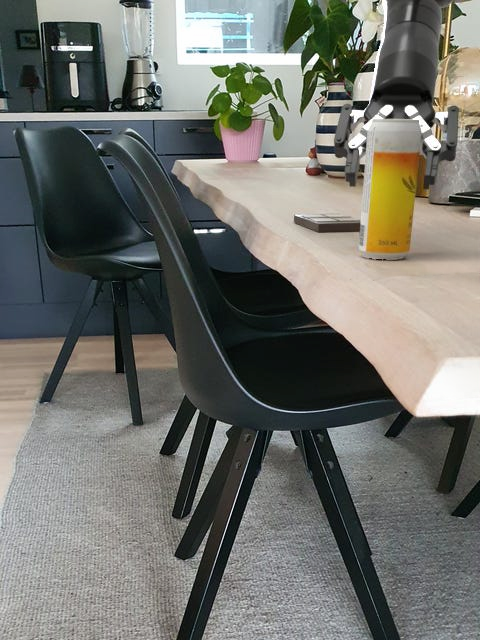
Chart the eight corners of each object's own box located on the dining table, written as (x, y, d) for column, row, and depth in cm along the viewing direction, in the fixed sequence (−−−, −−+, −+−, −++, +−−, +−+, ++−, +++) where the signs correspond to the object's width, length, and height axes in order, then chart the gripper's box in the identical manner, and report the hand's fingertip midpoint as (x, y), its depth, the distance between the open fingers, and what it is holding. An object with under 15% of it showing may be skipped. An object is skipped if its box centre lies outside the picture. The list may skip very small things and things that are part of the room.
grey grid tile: (293, 222, 124) (294, 213, 123) (339, 221, 126) (339, 212, 125) (318, 232, 115) (318, 222, 114) (367, 231, 116) (367, 221, 116)
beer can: (417, 259, 95) (432, 120, 88) (370, 261, 93) (382, 119, 86) (394, 251, 100) (407, 118, 93) (350, 253, 98) (359, 118, 92)
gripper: (346, 48, 95) (326, 158, 90) (468, 48, 92) (455, 161, 87) (348, 98, 102) (330, 202, 97) (462, 100, 99) (449, 207, 94)
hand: (389, 183), depth 92 cm, fingers open, 8 cm apart
